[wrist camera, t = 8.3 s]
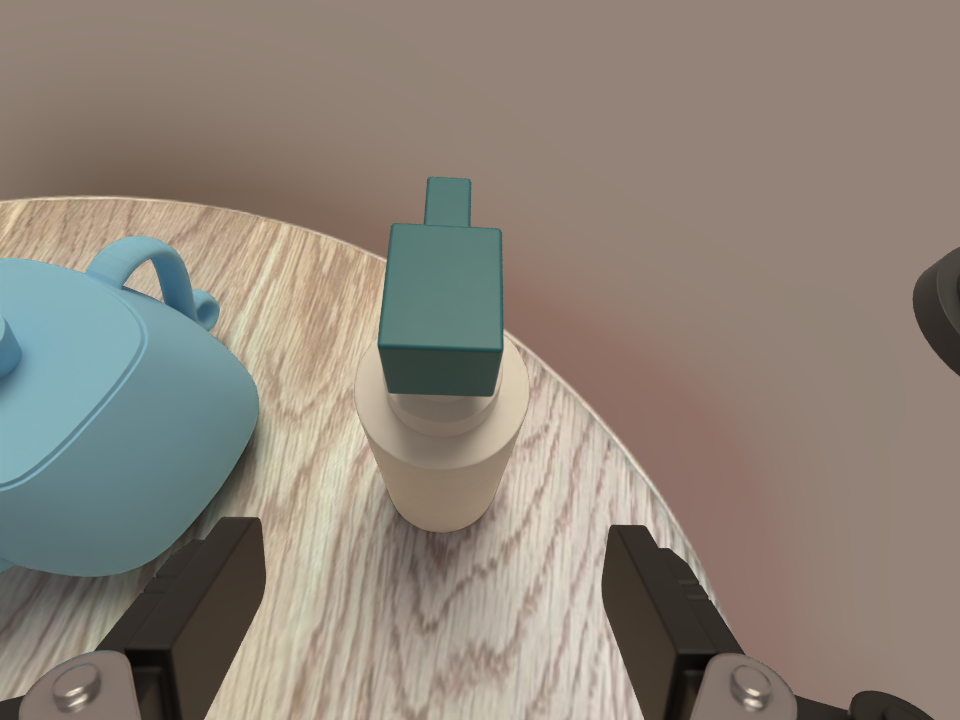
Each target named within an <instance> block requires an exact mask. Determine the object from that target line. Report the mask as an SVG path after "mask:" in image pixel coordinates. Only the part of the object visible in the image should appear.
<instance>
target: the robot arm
mask: <svg viewBox="0 0 960 720" xmlns="http://www.w3.org/2000/svg"><path fill="white" fill-rule="evenodd" d="M958 295H959V299H960V276H959V279H958ZM265 584H266V568H265V557H264V546H263V534H262V525H261V521H260V519H259V518H258V517H222V518H221V519H220V520H219V521H218V522H217V524H216V525H215V526H214V528H213V529H212V530H211V532H210V533H209V534H208V536H207V537H206V538H205V540H193V541H191V542H190V543H188V544H187V545H186V546H184V547H183V548H181V549H180V550H178V551H177V552H175V553H174V554H173V555H171V556H170V558H169V559H168V560H167V561H166V563H165V564H164V565H163V566H162V567H161V569H160V570H159V571H158V572H157V574H156V578H153V579H152V580H151V581H150V582H149V584H148V585H147V586H146V587H145V589H144V592H143V593H140V595H139V596H138V597H137V598H136V600H135V601H134V602H133V603H132V605H131V606H130V607H129V608H128V610H127V611H126V612H125V613H124V615H123V616H122V617H121V618H120V619H119V621H118V622H117V623H116V624H115V626H114V627H113V628H112V629H111V631H110V632H109V633H108V634H107V636H106V637H105V638H104V639H103V641H102V642H101V643H100V644H99V645H98V647H97V648H96V649H95V650H94V651H93V652H89V653H85V654H82V655H79V656H76V657H74V658H72V659H70V660H67V661H65V662H63V663H62V664H60V665H58V666H56V667H55V668H53V669H52V670H50V671H49V672H47V673H46V674H45V675H44V676H42V677H41V678H40V679H39V680H38V681H37V682H36V683H35V684H34V685H33V686H32V687H31V688H30V690H29V691H28V692H27V693H26V695H24V696H20V697H16V698H12V699H8V700H5V701H1V702H0V720H204V719H205V717H206V715H207V712H208V710H209V708H210V706H211V704H212V702H213V700H214V698H215V696H216V694H217V692H218V690H219V688H220V686H221V684H222V682H223V680H224V678H225V676H226V674H227V672H228V670H229V668H230V665H231V663H232V661H233V659H234V657H235V655H236V653H237V651H238V649H239V647H240V645H241V643H242V641H243V639H244V637H245V635H246V633H247V631H248V629H249V627H250V625H251V623H252V621H253V618H254V616H255V614H256V612H257V610H258V608H259V606H260V604H261V601H262V598H263V595H264V590H265ZM601 587H602V599H603V604H604V608H605V611H606V614H607V617H608V620H609V622H610V625H611V628H612V631H613V633H614V636H615V639H616V642H617V645H618V647H619V650H620V653H621V656H622V658H623V661H624V664H625V667H626V670H627V672H628V675H629V678H630V681H631V683H632V686H633V689H634V692H635V695H636V697H637V700H638V703H639V706H640V709H641V711H642V714H643V717H644V720H934V719H933V718H931V717H930V716H929V715H927V714H926V713H925V712H923V711H922V710H920V709H919V708H917V707H916V706H914V705H912V704H911V703H909V702H907V701H905V700H902V699H900V698H898V697H896V696H893V695H890V694H887V693H883V692H878V691H863V692H860V693H858V694H856V695H855V696H854V697H853V698H852V701H851V704H850V707H849V710H844V709H840V708H837V707H833V706H830V705H827V704H823V703H819V702H816V701H812V700H809V699H805V698H802V697H799V696H796V695H794V694H793V692H792V690H791V689H790V687H789V686H788V684H787V683H786V682H785V681H784V680H783V679H782V678H781V677H780V676H779V675H778V674H777V673H776V672H775V671H774V670H772V669H771V668H770V667H768V666H767V665H765V664H763V663H762V662H760V661H758V660H756V659H754V658H751V657H749V656H746V655H745V654H744V652H743V650H742V649H741V647H740V646H739V644H738V642H737V641H736V639H735V638H734V636H733V635H732V633H731V631H730V630H729V628H728V627H727V625H726V623H725V622H724V620H723V619H722V617H721V616H720V614H719V612H718V611H717V609H716V608H715V606H714V605H713V603H712V601H711V600H709V599H708V595H707V593H706V592H705V590H704V589H703V587H702V586H701V585H699V581H698V579H697V578H696V576H695V575H694V573H693V571H692V570H691V568H690V567H689V565H688V564H687V563H686V562H685V561H684V560H683V559H681V558H680V557H679V556H678V555H677V554H675V553H674V552H673V551H672V550H671V549H669V548H658V546H657V544H656V543H655V541H654V539H653V537H652V536H651V534H650V532H649V531H648V529H647V527H646V526H644V525H611V527H610V529H609V533H608V539H607V546H606V553H605V560H604V567H603V574H602V584H601Z"/></svg>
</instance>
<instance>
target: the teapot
mask: <svg viewBox="0 0 960 720" xmlns="http://www.w3.org/2000/svg"><path fill="white" fill-rule="evenodd" d="M148 259H151V260H152V262H153V264H154V267H155V269H156V272H157V275H158V278H159V282H160V286H161V290H162V294H163V299H164V303H165V304H164V303H162V302H160V301H158V300H156V299H155V298H153V297H150V296H148V295H145V294H143V293H140V292H138V291H135V290H133V289H130V288H128V287H125V286H123V285H124V283H125V282H126V280H127V279H128V277H129V276H130V275H131V274H132V272H133V271H134V270H135V269H136V268H137V267H138V266H139V265H141V264H142V263H143V262H145V261H146V260H148ZM219 311H220V309H219V305H218V303H217V301H216V300H215V298H214V297H213V296H211V295H210V294H209V293H208V292H205V291H202V290H198V289H195V290H192V288H191V283H190V279H189V276H188V272H187V269H186V267H185V264H184V262H183V260H182V259H181V257H180V255H179V254H178V253H177V252H176V251H175V250H174V249H173V248H172V247H171V246H169V245H168V244H166V243H164V242H162V241H160V240H158V239H154V238H151V237H146V236H131V237H126V238H122V239H119V240H117V241H115V242H113V243H111V244H109V245H108V246H106V247H105V248H104V249H102V250H101V251H100V252H99V253H98V254H97V255H96V256H95V258H94V259H93V260H92V262H91V263H90V265H89V266H88V268H87V269H86V272H85V273H82V272H79V271H75V270H71V269H67V268H63V267H60V266H56V265H52V264H48V263H44V262H39V261H33V260H28V259H18V258H0V573H1V572H3V571H5V570H7V569H9V568H11V567H13V566H14V565H18V566H21V567H26V568H30V569H35V570H40V571H44V572H49V573H54V574H61V575H69V576H80V577H101V576H108V575H116V574H120V573H124V572H126V571H129V570H132V569H135V568H138V567H140V566H142V565H144V564H146V563H148V562H150V561H152V560H153V559H155V558H156V557H157V556H159V555H160V554H161V553H163V552H164V551H165V550H167V549H168V548H169V547H170V546H171V545H172V544H173V543H174V542H175V541H176V540H177V539H178V538H179V537H180V536H181V535H182V534H183V533H184V532H185V531H186V530H187V529H188V528H189V526H190V525H191V524H192V523H193V522H194V520H195V519H196V518H197V517H198V516H199V514H200V513H201V512H202V511H203V510H204V509H205V507H206V506H207V505H208V504H209V502H210V501H211V500H212V498H213V497H214V496H215V494H216V493H217V492H218V490H219V489H220V488H221V486H222V485H223V483H224V482H225V480H226V479H227V477H228V476H229V474H230V473H231V471H232V469H233V468H234V466H235V464H236V463H237V461H238V459H239V457H240V456H241V454H242V452H243V450H244V449H245V447H246V445H247V443H248V441H249V439H250V436H251V434H252V432H253V430H254V428H255V426H256V422H257V418H258V414H259V397H258V392H257V387H256V385H255V383H254V381H253V379H252V377H251V375H250V374H249V373H248V371H247V370H246V369H245V367H244V366H243V365H242V364H241V362H240V361H239V360H238V359H237V358H236V357H235V356H234V355H233V354H232V353H231V352H230V351H229V350H228V349H227V348H226V347H225V346H224V345H223V344H222V343H221V342H220V341H218V340H217V339H216V338H215V337H214V336H212V335H211V334H210V333H209V331H210V330H211V329H212V328H213V327H214V325H215V324H216V321H217V319H218V316H219Z"/></svg>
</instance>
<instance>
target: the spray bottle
mask: <svg viewBox="0 0 960 720" xmlns="http://www.w3.org/2000/svg"><path fill="white" fill-rule="evenodd" d="M470 212H471V181H470V179H462V178H446V177H429V178H428V179H427V190H426V204H425V217H424V225H421V224H402V223H401V224H400V223H394V224H392V226H391V231H390V240H389V248H388V256H387V265H386V273H385V282H384V290H383V299H382V308H381V316H380V325H379V333H378V337H377V338H376V339H375V340H374V341H373V342H372V344H371V345H370V346H369V348H368V349H367V351H366V352H365V354H364V356H363V358H362V360H361V361H360V364H359V367H358V370H357V373H356V378H355V386H354V397H355V405H356V409H357V413H358V416H359V418H360V421H361V424H362V426H363V429H364V431H365V434H366V436H367V439H368V441H369V444H370V447H371V449H372V452H373V454H374V457H375V459H376V462H377V464H378V467H379V469H380V472H381V475H382V477H383V480H384V482H385V485H386V487H387V490H388V492H389V495H390V497H391V500H392V502H393V504H394V506H395V508H396V509H397V510H398V512H399V513H400V514H401V515H402V516H403V517H404V518H405V519H406V520H407V521H408V522H410V523H411V524H413V525H415V526H416V527H418V528H421V529H423V530H426V531H431V532H439V533H443V532H452V531H457V530H460V529H463V528H465V527H467V526H469V525H471V524H472V523H474V522H475V521H476V520H478V519H479V518H480V517H481V516H482V515H483V514H484V513H485V511H486V510H487V509H488V507H489V506H490V504H491V502H492V500H493V498H494V496H495V493H496V490H497V488H498V485H499V483H500V480H501V478H502V475H503V472H504V470H505V467H506V465H507V462H508V460H509V457H510V455H511V452H512V449H513V447H514V444H515V442H516V439H517V437H518V434H519V431H520V429H521V426H522V424H523V421H524V419H525V415H526V412H527V409H528V404H529V399H530V384H529V376H528V373H527V369H526V366H525V363H524V361H523V359H522V357H521V355H520V353H519V352H518V350H517V348H516V347H515V346H514V344H513V343H512V342H511V341H510V340H509V339H508V338H507V337H506V336H505V335H504V334H503V282H502V281H503V278H502V276H503V275H502V232H501V230H500V229H498V228H479V227H470V215H471V213H470Z"/></svg>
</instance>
